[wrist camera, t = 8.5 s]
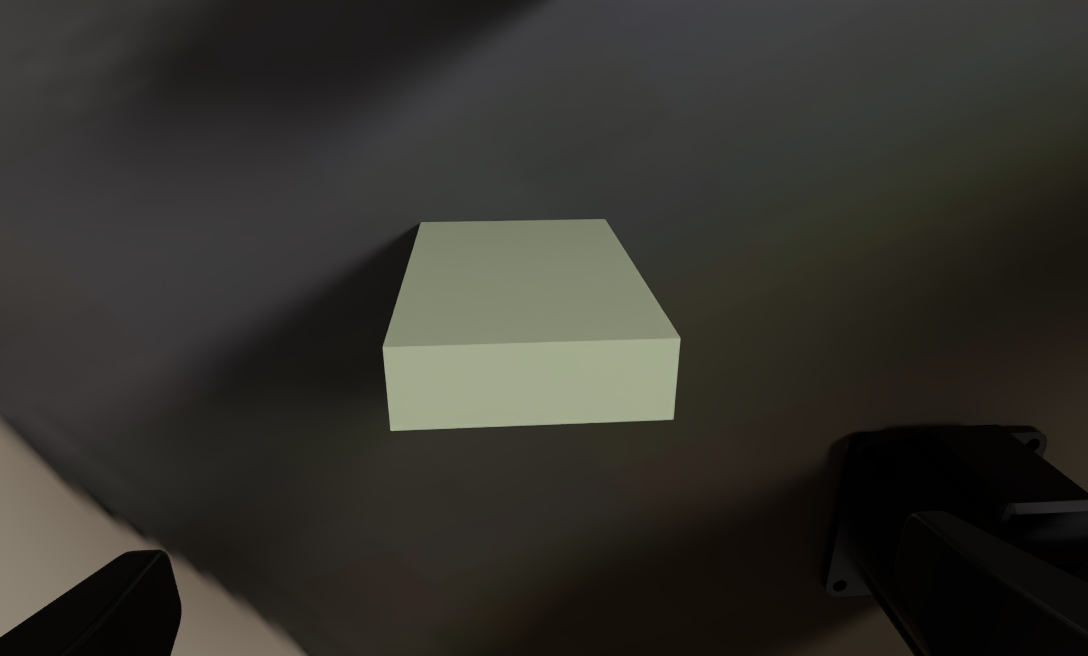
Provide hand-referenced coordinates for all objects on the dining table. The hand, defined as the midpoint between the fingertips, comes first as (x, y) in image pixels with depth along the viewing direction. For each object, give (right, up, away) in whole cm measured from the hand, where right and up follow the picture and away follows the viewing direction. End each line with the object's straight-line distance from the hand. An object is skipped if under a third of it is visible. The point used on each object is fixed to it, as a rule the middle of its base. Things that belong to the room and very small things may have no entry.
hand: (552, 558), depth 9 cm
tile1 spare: (-1, +5, +11) cm, 12 cm away
